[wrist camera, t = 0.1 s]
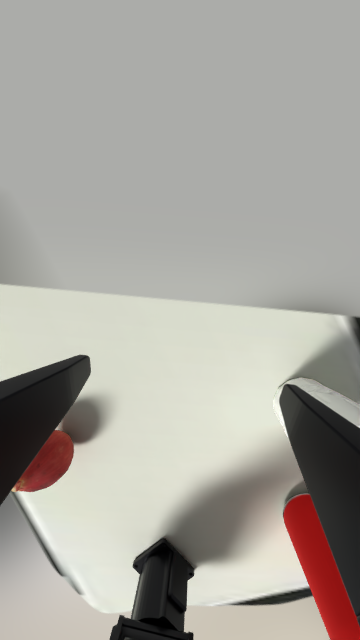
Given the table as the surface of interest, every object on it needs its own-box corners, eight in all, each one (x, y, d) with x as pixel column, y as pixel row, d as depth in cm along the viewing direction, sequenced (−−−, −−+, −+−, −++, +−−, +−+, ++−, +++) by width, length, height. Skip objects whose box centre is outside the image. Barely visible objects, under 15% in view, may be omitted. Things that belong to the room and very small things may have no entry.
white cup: (266, 373, 24) (315, 424, 14) (334, 371, 23) (436, 422, 13) (268, 433, 25) (317, 522, 15) (334, 432, 24) (432, 525, 14)
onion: (92, 450, 27) (49, 511, 19) (57, 460, 28) (1, 523, 20) (77, 412, 27) (26, 459, 19) (41, 423, 27) (-22, 473, 19)
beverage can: (269, 506, 26) (332, 685, 14) (304, 477, 25) (404, 640, 13) (303, 538, 26) (396, 744, 14) (340, 509, 25) (472, 702, 13)
